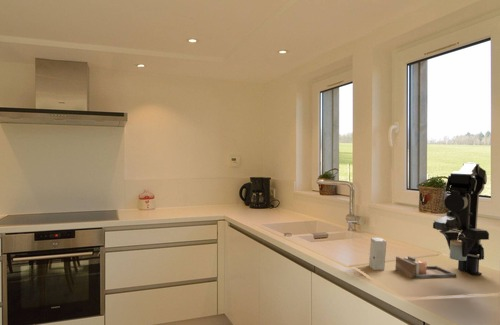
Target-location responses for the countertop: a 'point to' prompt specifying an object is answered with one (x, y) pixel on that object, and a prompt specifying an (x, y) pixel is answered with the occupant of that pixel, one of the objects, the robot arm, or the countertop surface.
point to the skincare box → (377, 253)
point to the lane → (431, 272)
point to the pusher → (414, 263)
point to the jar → (422, 266)
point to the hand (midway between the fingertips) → (458, 254)
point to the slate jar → (456, 250)
